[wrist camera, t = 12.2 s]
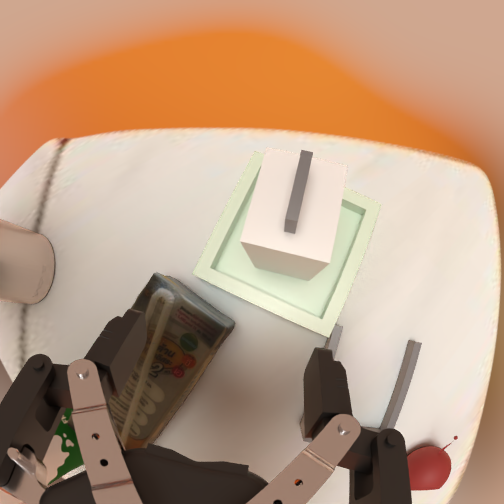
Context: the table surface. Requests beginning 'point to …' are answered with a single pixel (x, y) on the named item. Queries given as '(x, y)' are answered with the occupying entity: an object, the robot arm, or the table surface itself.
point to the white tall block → (294, 213)
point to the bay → (400, 387)
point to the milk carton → (57, 456)
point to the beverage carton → (166, 358)
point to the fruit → (428, 468)
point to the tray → (281, 286)
